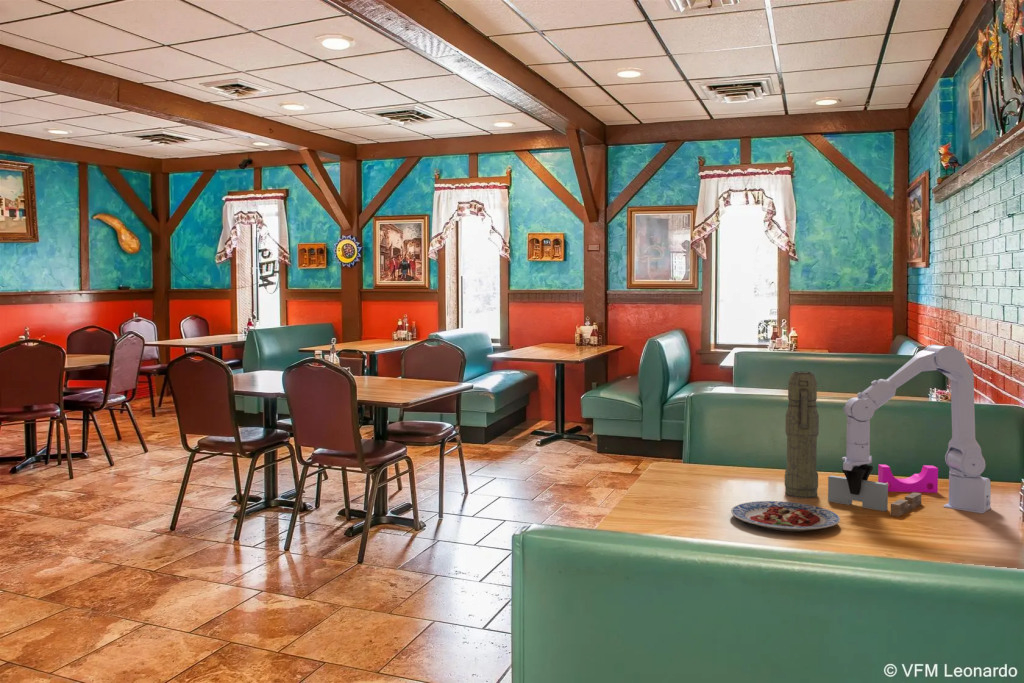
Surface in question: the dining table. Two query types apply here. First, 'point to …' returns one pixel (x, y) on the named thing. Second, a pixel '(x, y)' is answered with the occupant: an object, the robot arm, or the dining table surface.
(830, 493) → the slate plate
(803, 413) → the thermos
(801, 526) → the ceramic plate
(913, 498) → the walnut rail
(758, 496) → the dining table surface
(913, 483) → the toy block
